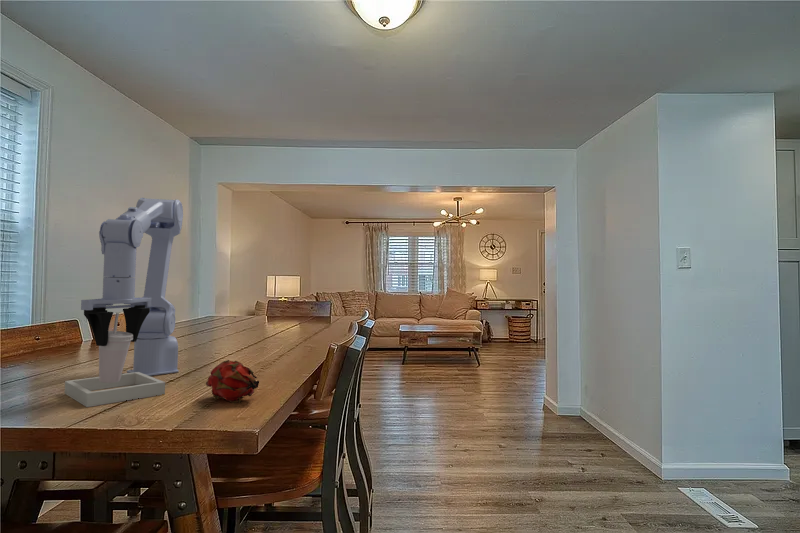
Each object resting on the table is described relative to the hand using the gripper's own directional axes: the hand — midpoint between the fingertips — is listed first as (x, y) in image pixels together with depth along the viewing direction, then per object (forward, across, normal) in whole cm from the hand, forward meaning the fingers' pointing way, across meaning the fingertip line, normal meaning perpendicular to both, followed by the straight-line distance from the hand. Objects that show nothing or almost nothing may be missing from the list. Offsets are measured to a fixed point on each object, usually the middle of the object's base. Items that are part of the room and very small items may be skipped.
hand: (117, 343), depth 98 cm
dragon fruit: (+11, -7, +24) cm, 27 cm away
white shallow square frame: (+10, 0, 0) cm, 10 cm away
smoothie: (+8, 0, -2) cm, 8 cm away
